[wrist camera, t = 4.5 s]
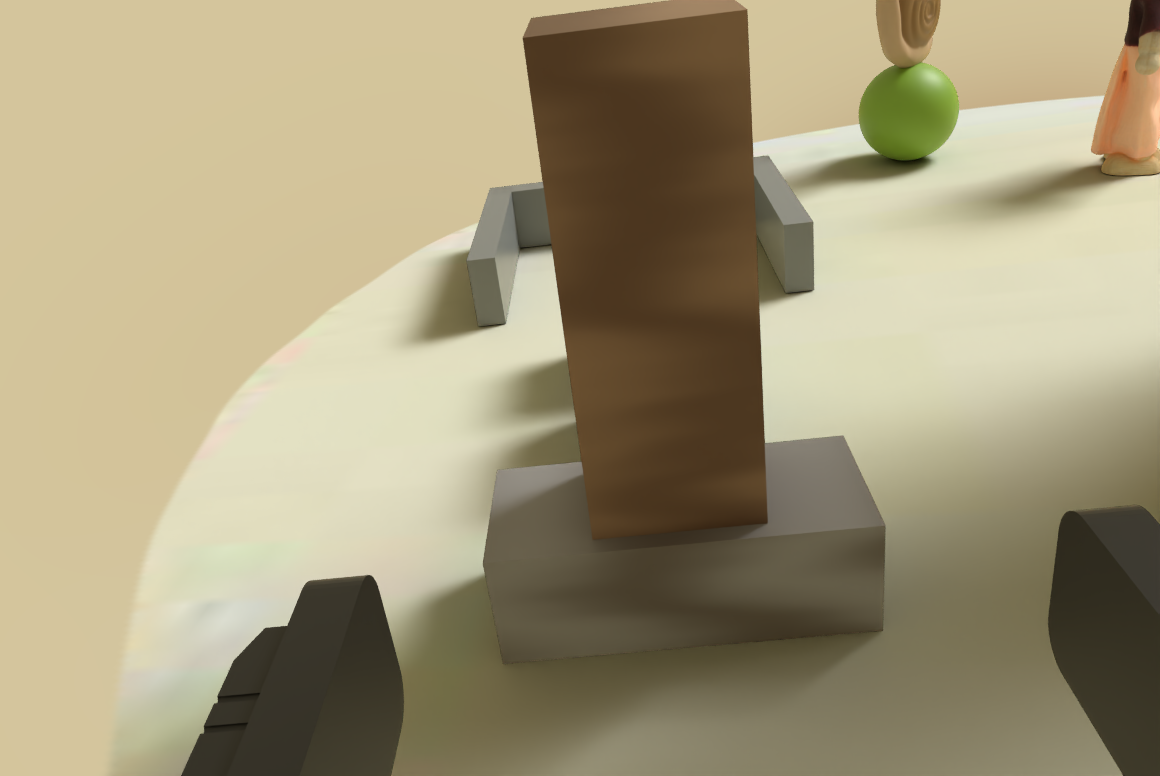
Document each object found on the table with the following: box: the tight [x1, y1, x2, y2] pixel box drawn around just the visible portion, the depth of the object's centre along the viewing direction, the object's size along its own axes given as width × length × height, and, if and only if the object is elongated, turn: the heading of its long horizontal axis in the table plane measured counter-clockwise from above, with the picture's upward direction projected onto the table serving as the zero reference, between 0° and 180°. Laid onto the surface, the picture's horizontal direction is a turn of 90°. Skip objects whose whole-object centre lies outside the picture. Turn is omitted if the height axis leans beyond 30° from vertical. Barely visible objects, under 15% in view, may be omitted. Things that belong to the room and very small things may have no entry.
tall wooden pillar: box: [483, 0, 885, 664], centre depth 22 cm, size 9×4×14 cm, turn 90°
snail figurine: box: [859, 0, 959, 160], centre depth 54 cm, size 5×6×12 cm
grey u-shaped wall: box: [467, 156, 814, 326], centre depth 46 cm, size 14×11×3 cm
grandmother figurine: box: [1091, 0, 1160, 175], centre depth 48 cm, size 8×4×13 cm, turn 161°
